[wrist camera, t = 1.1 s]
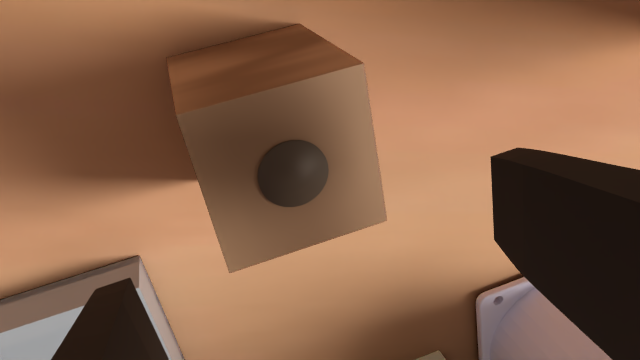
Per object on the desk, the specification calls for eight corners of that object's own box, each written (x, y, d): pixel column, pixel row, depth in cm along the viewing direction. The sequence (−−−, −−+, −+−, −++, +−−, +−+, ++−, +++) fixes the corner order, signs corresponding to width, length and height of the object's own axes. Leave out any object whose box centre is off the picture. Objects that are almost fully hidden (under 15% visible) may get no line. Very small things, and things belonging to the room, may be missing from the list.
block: (299, 23, 18) (365, 63, 12) (323, 143, 20) (388, 221, 14) (166, 57, 17) (176, 116, 12) (206, 179, 19) (229, 275, 14)
